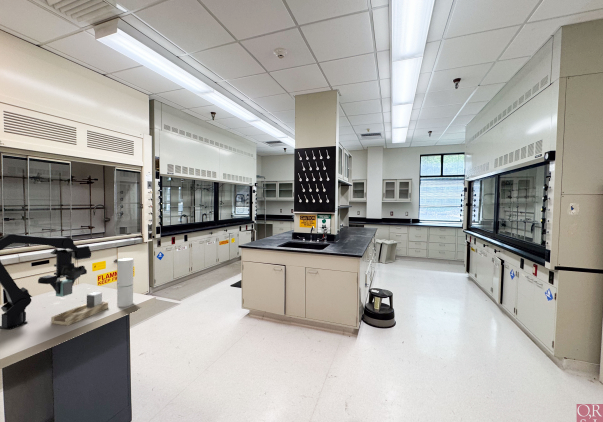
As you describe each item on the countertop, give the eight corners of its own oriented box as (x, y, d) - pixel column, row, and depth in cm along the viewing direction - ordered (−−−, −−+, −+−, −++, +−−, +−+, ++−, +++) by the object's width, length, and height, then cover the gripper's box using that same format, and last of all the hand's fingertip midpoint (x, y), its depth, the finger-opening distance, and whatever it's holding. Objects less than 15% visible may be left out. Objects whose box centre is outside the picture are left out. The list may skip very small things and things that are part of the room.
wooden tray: (67, 325, 114) (67, 319, 114) (51, 323, 116) (51, 317, 116) (108, 307, 134) (108, 302, 134) (93, 306, 135) (93, 300, 135)
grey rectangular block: (93, 309, 128) (93, 295, 128) (86, 308, 129) (86, 294, 129) (101, 305, 133) (102, 292, 133) (94, 304, 133) (94, 291, 133)
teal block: (55, 296, 126) (55, 282, 125) (65, 292, 130) (65, 279, 130) (63, 296, 125) (63, 282, 125) (72, 293, 129) (72, 280, 129)
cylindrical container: (128, 300, 144) (129, 257, 143) (135, 303, 140) (136, 259, 140) (114, 304, 138) (115, 259, 137) (120, 307, 134) (121, 261, 134)
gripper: (56, 267, 117) (56, 300, 117) (95, 258, 135) (95, 287, 135) (37, 265, 118) (37, 298, 119) (78, 257, 137) (77, 286, 137)
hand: (64, 292), depth 127 cm, fingers closed on teal block, 5 cm apart
